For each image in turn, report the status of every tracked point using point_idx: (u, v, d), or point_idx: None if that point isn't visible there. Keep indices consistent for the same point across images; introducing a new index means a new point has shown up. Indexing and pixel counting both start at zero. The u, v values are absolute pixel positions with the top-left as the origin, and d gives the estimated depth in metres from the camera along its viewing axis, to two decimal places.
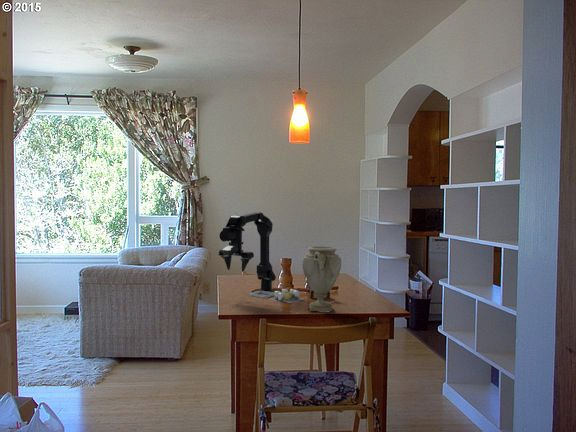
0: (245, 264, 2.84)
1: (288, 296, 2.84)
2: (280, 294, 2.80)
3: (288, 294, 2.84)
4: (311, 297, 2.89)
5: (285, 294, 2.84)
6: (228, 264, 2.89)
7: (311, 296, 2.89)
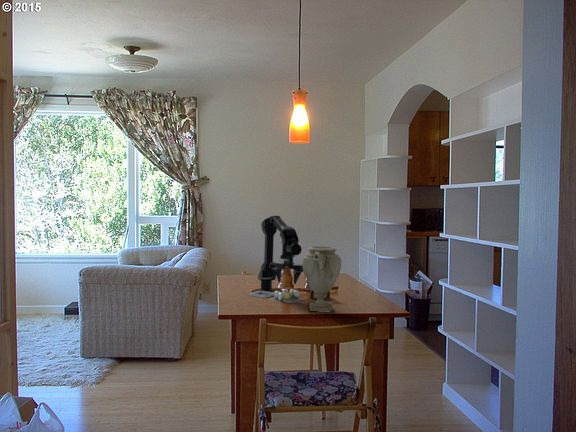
0: (297, 277, 2.83)
1: (288, 296, 2.84)
2: (280, 294, 2.80)
3: (288, 294, 2.84)
4: (311, 297, 2.89)
5: (285, 294, 2.84)
6: (279, 277, 2.88)
7: (311, 296, 2.89)
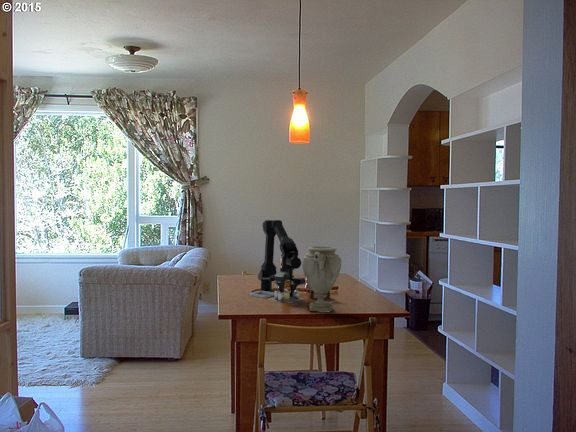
0: (293, 290, 2.84)
1: (288, 296, 2.84)
2: (280, 294, 2.80)
3: (288, 294, 2.84)
4: (311, 297, 2.89)
5: (285, 294, 2.84)
6: (282, 290, 2.87)
7: (311, 296, 2.89)
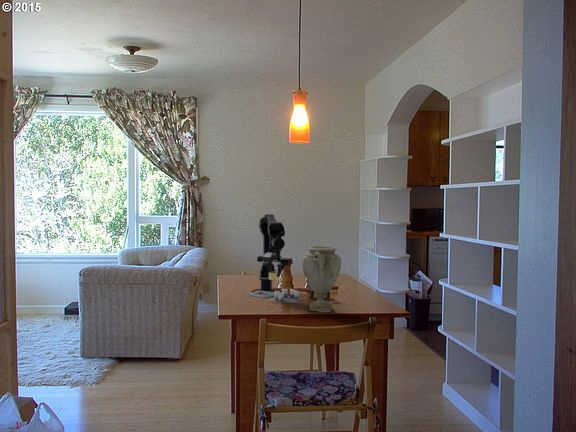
0: (281, 270, 2.88)
1: (275, 276, 2.88)
2: (280, 294, 2.80)
3: (275, 274, 2.88)
4: (311, 297, 2.89)
5: (273, 274, 2.88)
6: (269, 270, 2.91)
7: (311, 296, 2.89)
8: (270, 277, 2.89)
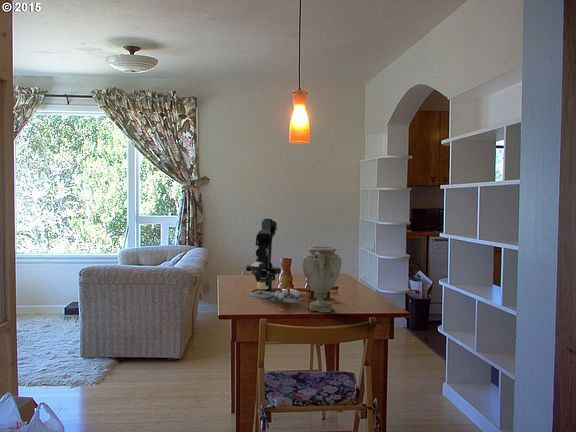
0: (269, 279, 2.92)
1: (263, 285, 2.92)
2: (280, 294, 2.80)
3: (264, 283, 2.92)
4: (311, 297, 2.89)
5: (261, 283, 2.92)
6: (258, 280, 2.95)
7: (311, 296, 2.89)
8: (259, 286, 2.93)
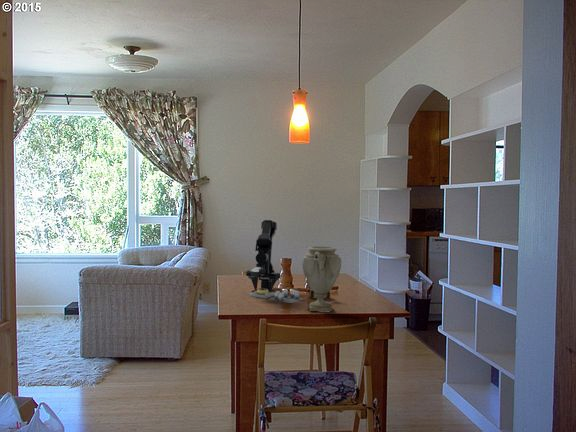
0: (272, 285, 2.91)
1: (263, 293, 2.92)
2: (280, 294, 2.80)
3: (264, 291, 2.92)
4: (311, 297, 2.89)
5: (261, 291, 2.92)
6: (255, 284, 2.96)
7: (311, 296, 2.89)
8: (258, 294, 2.93)
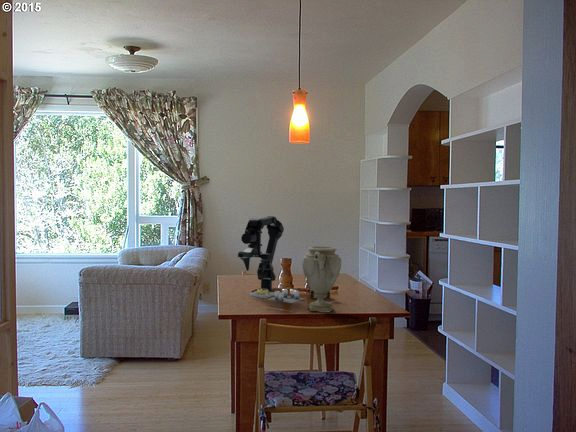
0: (264, 265, 2.95)
1: (263, 293, 2.92)
2: (280, 294, 2.80)
3: (264, 291, 2.92)
4: (311, 297, 2.89)
5: (261, 291, 2.92)
6: (247, 265, 2.99)
7: (311, 296, 2.89)
8: (258, 294, 2.93)
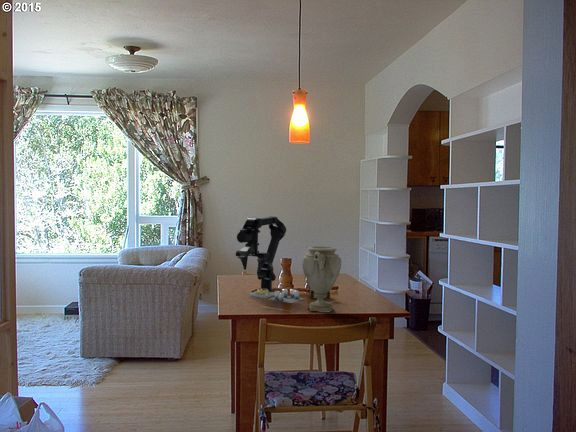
0: (261, 264, 2.96)
1: (263, 293, 2.92)
2: (280, 294, 2.80)
3: (264, 291, 2.92)
4: (311, 297, 2.89)
5: (261, 291, 2.92)
6: (244, 264, 3.01)
7: (311, 296, 2.89)
8: (258, 294, 2.93)
